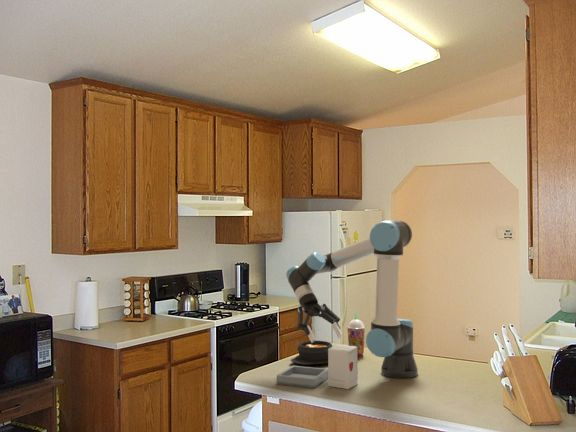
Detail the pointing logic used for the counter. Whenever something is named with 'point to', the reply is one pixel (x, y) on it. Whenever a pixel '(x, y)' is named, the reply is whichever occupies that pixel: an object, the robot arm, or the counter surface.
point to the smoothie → (356, 335)
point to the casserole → (312, 353)
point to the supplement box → (342, 366)
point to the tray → (302, 376)
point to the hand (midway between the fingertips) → (327, 338)
